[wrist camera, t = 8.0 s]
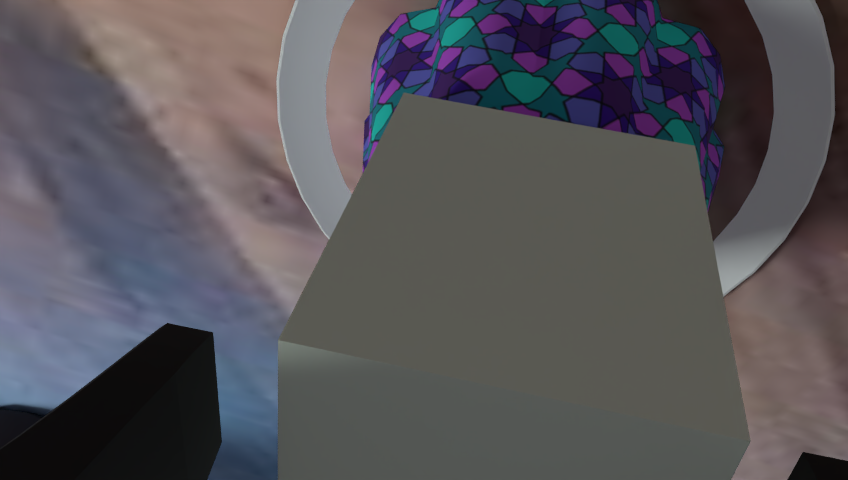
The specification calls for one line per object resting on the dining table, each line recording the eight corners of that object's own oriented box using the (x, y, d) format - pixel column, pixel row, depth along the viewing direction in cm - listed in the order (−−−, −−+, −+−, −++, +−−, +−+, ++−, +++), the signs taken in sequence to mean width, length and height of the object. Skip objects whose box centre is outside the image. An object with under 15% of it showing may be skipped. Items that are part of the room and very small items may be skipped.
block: (381, 311, 15) (276, 597, 11) (403, 92, 13) (278, 340, 8) (620, 361, 15) (626, 682, 10) (694, 145, 12) (751, 441, 8)
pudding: (895, 237, 18) (982, 403, 14) (444, 376, 23) (407, 528, 19) (703, -313, 13) (748, -315, 9) (186, 12, 18) (59, 108, 14)
